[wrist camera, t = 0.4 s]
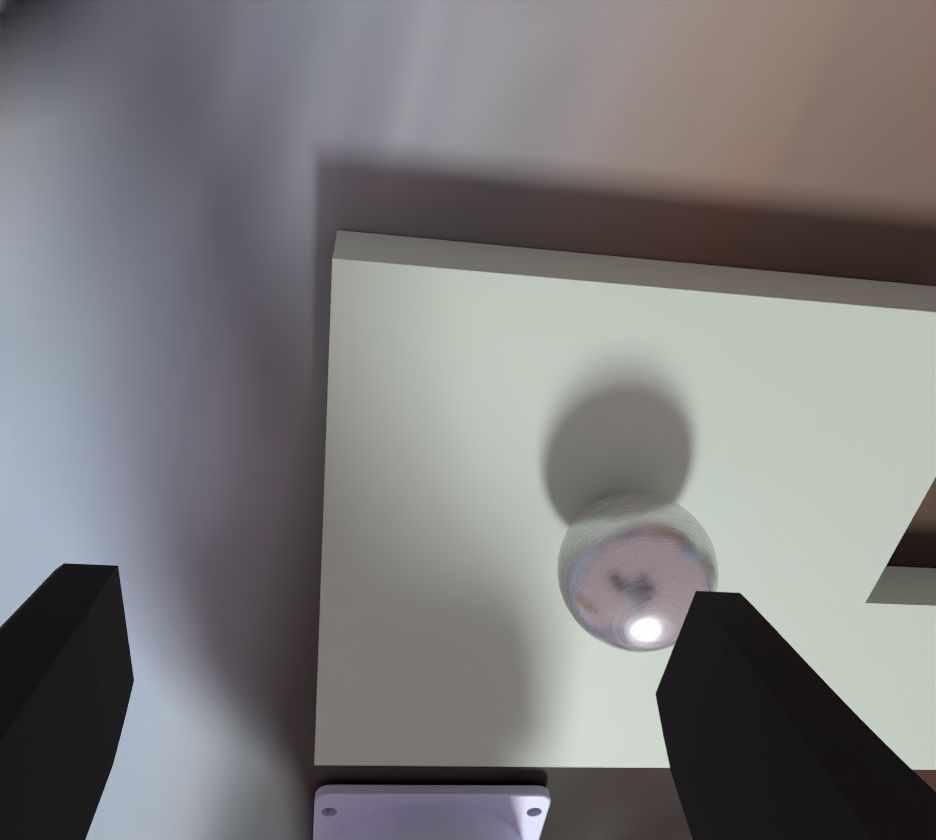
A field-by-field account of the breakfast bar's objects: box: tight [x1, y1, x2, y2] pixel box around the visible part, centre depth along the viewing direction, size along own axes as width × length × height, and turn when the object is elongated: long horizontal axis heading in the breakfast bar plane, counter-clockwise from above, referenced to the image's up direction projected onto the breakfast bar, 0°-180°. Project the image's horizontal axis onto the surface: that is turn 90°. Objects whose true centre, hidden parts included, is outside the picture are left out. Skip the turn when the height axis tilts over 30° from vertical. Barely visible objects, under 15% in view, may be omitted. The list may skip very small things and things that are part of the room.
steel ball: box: [557, 492, 719, 653], centre depth 18 cm, size 4×4×4 cm
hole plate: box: [314, 230, 936, 770], centre depth 22 cm, size 16×24×2 cm, turn 83°
